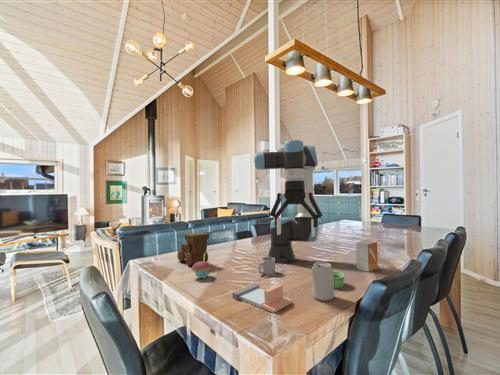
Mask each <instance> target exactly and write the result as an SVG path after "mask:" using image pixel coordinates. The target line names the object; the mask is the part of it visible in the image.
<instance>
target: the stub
mask: <svg viewBox="0 0 500 375" xmlns="http://www.w3.org/2000/svg"><path fill="white" fill-rule="evenodd" d="M264 290H265V291H264V297H265V304H263V305H262V308H261V309H263V310H265V311H269V312H270V313H273V314H276V313H277V312H278V311H280V310H281V309H284V308H285V307H287V306H288V305H291V304H292V303H293V299H292V298H289V297H286V296H284V285H283V284H280V283H277V284H276V285H274V286H271V287H269V288H267V289H264Z"/></svg>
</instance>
